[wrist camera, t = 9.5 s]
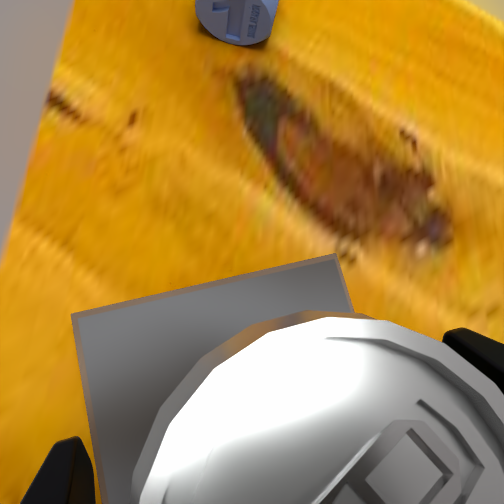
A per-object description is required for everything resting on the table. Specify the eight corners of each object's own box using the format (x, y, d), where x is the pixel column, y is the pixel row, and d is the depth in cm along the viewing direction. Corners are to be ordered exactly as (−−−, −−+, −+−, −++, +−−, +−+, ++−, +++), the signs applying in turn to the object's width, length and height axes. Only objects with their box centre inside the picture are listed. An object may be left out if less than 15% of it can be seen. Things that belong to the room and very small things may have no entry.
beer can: (253, 321, 17) (355, 215, 6) (349, 429, 17) (676, 546, 5) (143, 421, 16) (-2, 535, 5) (243, 543, 15) (370, 1043, 4)
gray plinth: (392, 509, 19) (427, 533, 16) (134, 601, 17) (123, 648, 14) (319, 266, 22) (338, 250, 19) (85, 321, 19) (67, 312, 17)
